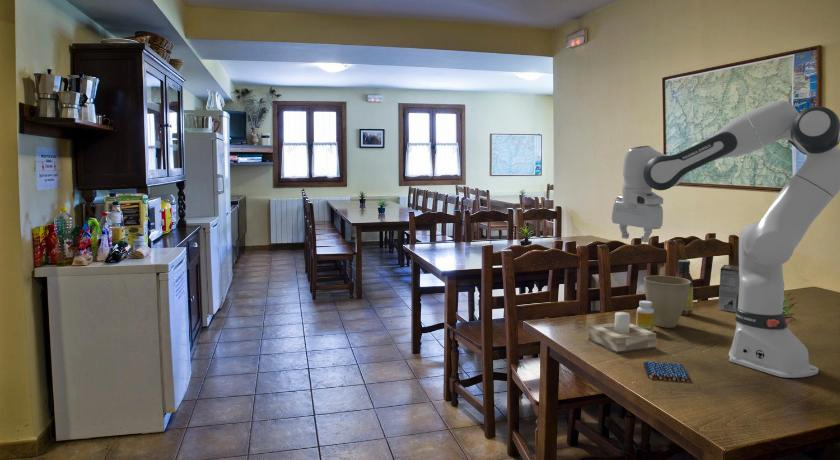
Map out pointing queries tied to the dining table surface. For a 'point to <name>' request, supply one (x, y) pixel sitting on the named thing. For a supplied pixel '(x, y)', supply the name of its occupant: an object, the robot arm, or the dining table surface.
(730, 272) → the coffee box
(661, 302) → the plant pot
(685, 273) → the sauce bottle
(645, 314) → the supplement bottle
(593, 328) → the socket block
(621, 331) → the cylinder
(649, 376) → the woven mat
